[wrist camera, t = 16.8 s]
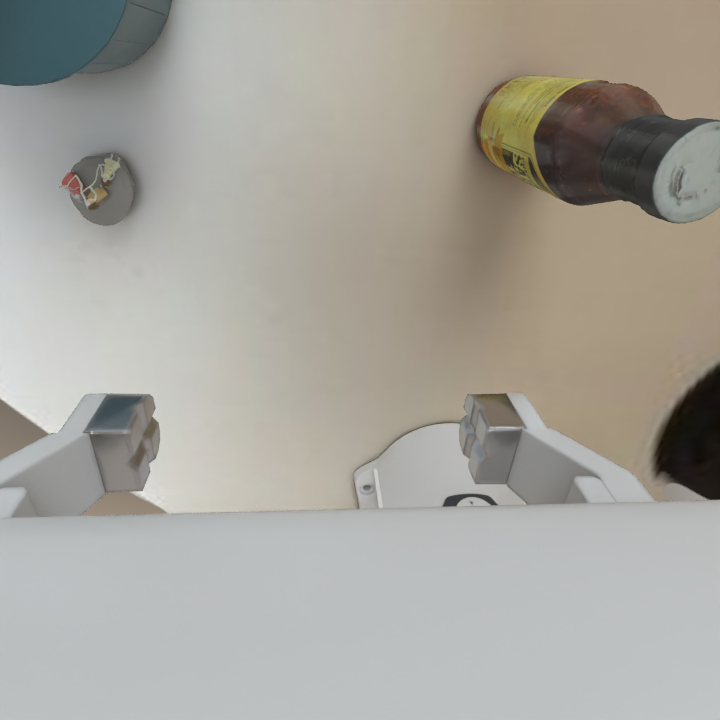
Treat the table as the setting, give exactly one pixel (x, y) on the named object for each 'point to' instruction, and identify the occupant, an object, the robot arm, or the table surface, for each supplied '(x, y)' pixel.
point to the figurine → (101, 188)
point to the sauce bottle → (602, 145)
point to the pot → (133, 35)
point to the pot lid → (54, 37)
